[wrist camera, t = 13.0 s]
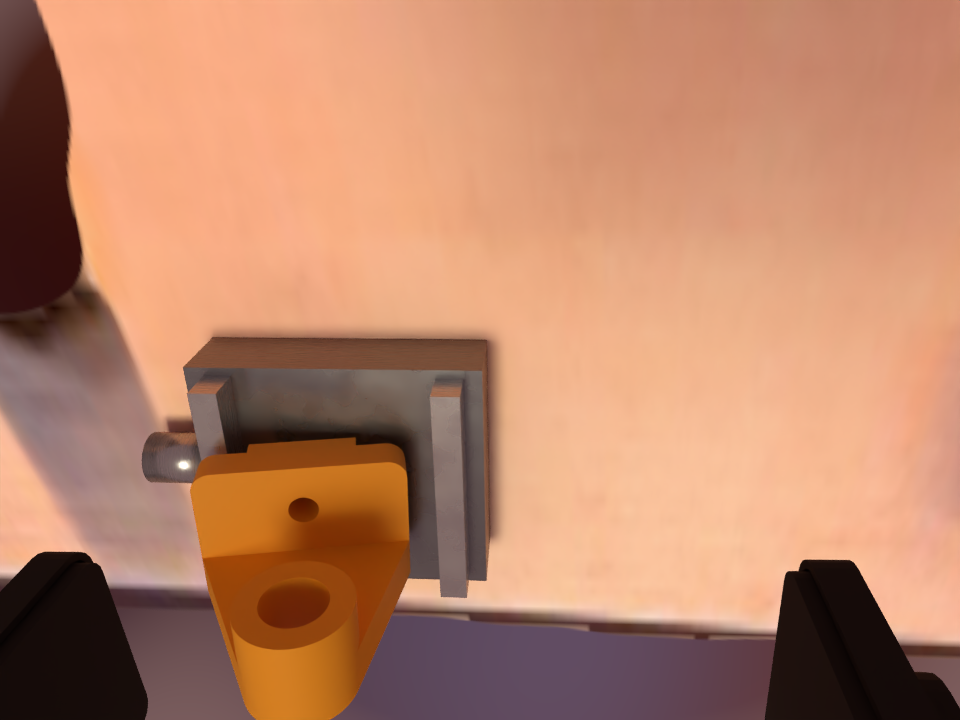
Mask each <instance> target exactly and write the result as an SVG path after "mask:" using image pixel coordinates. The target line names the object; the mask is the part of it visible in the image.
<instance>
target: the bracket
mask: <svg viewBox="0 0 960 720" xmlns="http://www.w3.org/2000/svg"><path fill="white" fill-rule="evenodd" d="M190 494H191V499H192V505H193V510H194V515H195V521H196V526H197V532H198V537H199V543H200V548H201V553H202V559H203V564H204V570H205V575H206V581H207V586H208V591H209V594H210V597H211V600H212V604H213V607H214V610H215V613H216V616H217V619H218V622H219V625H220V628H221V631H222V634H223V638H224V641H225V644H226V647H227V650H228V653H229V656H230V659H231V663H232V666H233V669H234V672H235V675H236V678H237V681H238V684H239V687H240V690H241V693H242V697H243V700H244V703H245V705H246V708H247V709H248V711H249V713H250V714H251V715H252V716H253V717H254V718H255V719H256V720H330V719H332V718H333V717H335V716H336V715H338V714H339V713H340V712H342V711H343V710H344V709H345V708H346V707H347V706H348V705H349V704H350V703H351V701H352V700H353V699H354V697H355V696H356V694H357V692H358V690H359V688H360V685H361V683H362V681H363V678H364V676H365V674H366V672H367V669H368V667H369V665H370V663H371V660H372V658H373V656H374V654H375V651H376V649H377V647H378V644H379V642H380V640H381V638H382V635H383V633H384V631H385V628H386V626H387V624H388V622H389V619H390V617H391V615H392V613H393V610H394V608H395V606H396V604H397V601H398V599H399V597H400V595H401V592H402V590H403V588H404V586H405V583H406V581H407V579H408V576H409V574H410V543H409V515H408V486H407V471H406V462H405V455H404V453H403V451H402V450H401V449H400V448H399V447H398V446H396V445H394V444H389V443H383V444H368V445H356V437H354V438H339V439H324V440H308V441H293V442H278V443H263V444H249V446H248V450H247V453H236V454H221V455H211V456H208V457H206V458H205V459H203V460H202V461H201V462H200V464H199V466H198V469H197V472H196V474H195V477H194V480H193V483H192V486H191V489H190Z"/></svg>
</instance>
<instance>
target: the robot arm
mask: <svg viewBox="0 0 960 720" xmlns="http://www.w3.org/2000/svg"><path fill="white" fill-rule="evenodd" d="M147 708H148V698H147V694H146V691H145V689H144V686H143V683H142V680H141V678H140V674H139V672H138V669H137V666H136V663H135V660H134V658H133V655H132V652H131V649H130V646H129V644H128V641H127V638H126V635H125V632H124V630H123V627H122V624H121V621H120V618H119V616H118V613H117V610H116V607H115V604H114V601H113V599H112V596H111V593H110V590H109V587H108V585H107V582H106V579H105V576H104V573H103V571H102V569H101V567H100V566H99V565H98V564H97V563H93V561H92V559H91V558H90V556H88V555H87V554H86V553H82V552H42V553H39V554H37V555H36V556H35V557H34V558H32V559H31V560H30V561H29V562H28V563H27V564H26V565H25V566H24V568H23V569H22V570H21V571H20V572H19V573H18V574H17V575H16V576H15V577H14V578H13V579H12V580H11V581H10V582H9V583H8V584H7V585H6V586H5V587H4V588H3V589H2V590H1V592H0V720H145V717H146V714H147ZM765 720H960V708H959V706H958V705H957V703H956V701H955V699H954V698H953V696H952V694H951V692H950V691H949V690H948V688H947V687H946V685H945V684H944V683H943V681H942V680H941V679H940V678H938V677H937V676H936V675H935V674H933V673H927V672H914V671H913V669H912V667H911V665H910V663H909V661H908V659H907V658H906V656H905V654H904V652H903V650H902V648H901V647H900V645H899V643H898V641H897V639H896V637H895V636H894V634H893V632H892V630H891V628H890V626H889V625H888V623H887V621H886V619H885V617H884V615H883V613H882V612H881V610H880V608H879V606H878V604H877V602H876V601H875V599H874V597H873V595H872V593H871V591H870V590H869V588H868V586H867V584H866V582H865V580H864V579H863V577H862V575H861V573H860V571H859V569H858V568H857V566H856V565H855V564H854V562H852V561H850V560H803V561H802V563H801V564H800V567H799V571H788V572H787V573H786V575H785V579H784V585H783V592H782V600H781V607H780V614H779V621H778V628H777V635H776V643H775V650H774V657H773V664H772V671H771V678H770V686H769V692H768V699H767V706H766V714H765Z"/></svg>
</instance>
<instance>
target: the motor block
mask: <svg viewBox="0 0 960 720" xmlns="http://www.w3.org/2000/svg"><path fill="white" fill-rule="evenodd" d="M183 370H184V375H185V380H186V384H187V389H188V393H187V396H188V401H189V406H190V410H191V415H192V420H193V424H194V429H195V433H182V432H154V433H152V434H151V435H150V436H149V437H148V439H147V440H146V442H145V445H144V448H143V453H142V469H143V473H144V475H145V477H146V479H147V480H148V481H150V482H161V483H193V480H194V477H195V474H196V472H197V469H198V466H199V464H200V462H201V461H202V460H203V459H205V458H206V457H208V456H211V455H221V454H236V453H247V450H248V446H249V444H263V443H278V442H293V441H308V440H324V439H339V438H354V437H356V445H368V444H383V443H389V444H394V445H396V446H398V447H399V448H400V449H401V450H402V451H403V453H404V455H405V462H406V471H407V486H408V515H409V543H410V574H409V576H408V578H412V579H440V591H441V597H459V598H467V592H468V583H469V580H477V581H486V580H487V568H488V556H489V544H490V508H489V450H488V391H487V340H427V339H309V338H212V339H211V340H210V341H209V342H208V343H207V344H206V345H205V346H204V347H203V348H202V349H201V350H200V351H199V352H198V353H197V354H196V355H195V356H194V357H193V358H192V359H191V360H190V361H189V362H188V363H187V364H186V365H185V366H184V367H183Z"/></svg>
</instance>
